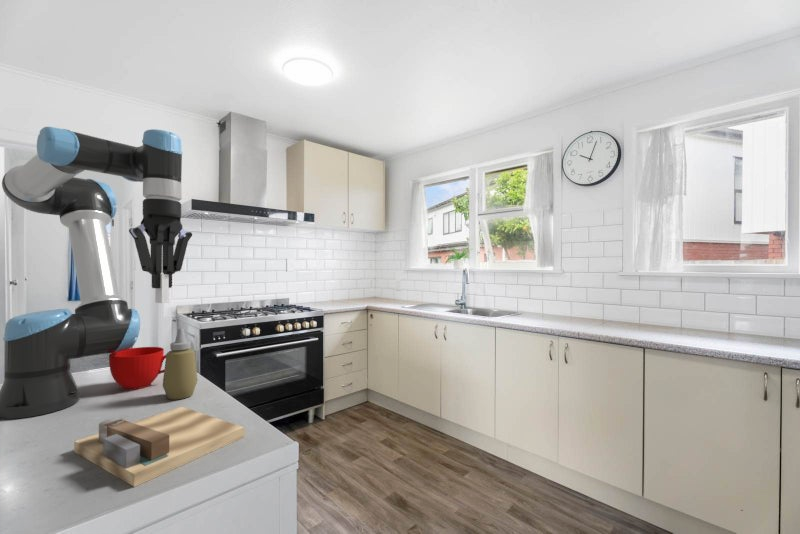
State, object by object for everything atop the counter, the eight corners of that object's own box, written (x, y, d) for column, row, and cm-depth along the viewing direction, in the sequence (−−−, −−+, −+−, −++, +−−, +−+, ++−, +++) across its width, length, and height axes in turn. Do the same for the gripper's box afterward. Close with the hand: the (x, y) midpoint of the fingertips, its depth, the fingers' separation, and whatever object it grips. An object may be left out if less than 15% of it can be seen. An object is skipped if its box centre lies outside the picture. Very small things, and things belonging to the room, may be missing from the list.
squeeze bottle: (181, 403, 95) (182, 332, 95) (154, 400, 96) (155, 330, 96) (204, 392, 103) (204, 327, 103) (179, 390, 104) (179, 326, 104)
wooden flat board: (74, 451, 70) (74, 425, 70) (181, 415, 87) (182, 393, 87) (134, 486, 59) (134, 455, 59) (243, 437, 76) (244, 412, 76)
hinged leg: (94, 439, 70) (94, 423, 70) (118, 431, 73) (118, 416, 73) (148, 461, 62) (148, 443, 62) (172, 450, 66) (172, 433, 66)
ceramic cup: (171, 390, 105) (171, 354, 105) (99, 395, 100) (99, 358, 100) (183, 376, 117) (183, 345, 117) (120, 381, 112) (120, 348, 112)
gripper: (181, 205, 93) (181, 299, 93) (122, 196, 82) (121, 304, 82) (199, 203, 90) (199, 301, 90) (139, 193, 78) (139, 306, 78)
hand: (161, 302), depth 86 cm, fingers closed
